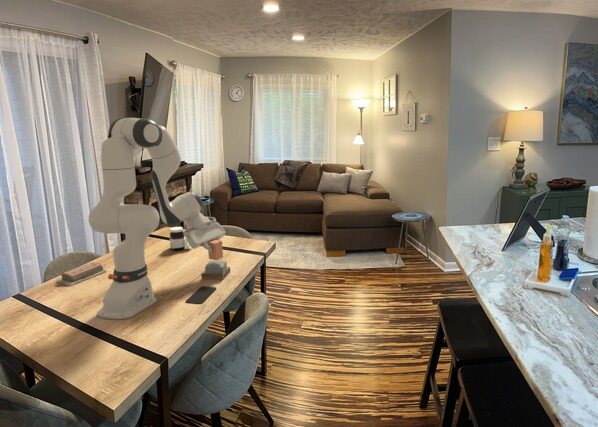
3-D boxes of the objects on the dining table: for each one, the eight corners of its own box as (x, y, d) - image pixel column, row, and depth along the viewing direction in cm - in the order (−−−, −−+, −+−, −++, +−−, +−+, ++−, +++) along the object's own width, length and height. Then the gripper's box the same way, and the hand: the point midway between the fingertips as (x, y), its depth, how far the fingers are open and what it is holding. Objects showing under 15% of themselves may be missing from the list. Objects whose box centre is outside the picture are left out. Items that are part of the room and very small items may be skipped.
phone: (184, 301, 157) (201, 286, 172) (184, 303, 158) (201, 287, 172) (201, 303, 156) (217, 287, 170) (201, 305, 156) (217, 289, 170)
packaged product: (91, 260, 194) (105, 263, 190) (93, 269, 195) (106, 273, 191) (54, 273, 179) (68, 276, 174) (56, 283, 180) (70, 287, 175)
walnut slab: (222, 281, 179) (222, 274, 178) (201, 280, 181) (201, 273, 180) (230, 272, 189) (230, 266, 188) (210, 271, 190) (209, 265, 190)
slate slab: (223, 273, 180) (222, 267, 179) (205, 273, 180) (205, 267, 179) (226, 267, 188) (226, 261, 187) (209, 267, 188) (209, 261, 187)
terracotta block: (216, 260, 180) (215, 243, 178) (208, 258, 182) (207, 242, 180) (223, 257, 184) (222, 240, 182) (215, 255, 186) (214, 239, 184)
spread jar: (169, 247, 226) (167, 227, 223) (190, 244, 231) (188, 224, 228) (172, 253, 216) (170, 232, 213) (194, 250, 220) (192, 229, 217)
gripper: (185, 227, 174) (203, 252, 171) (216, 216, 191) (234, 239, 188) (178, 235, 177) (196, 260, 175) (210, 224, 194) (227, 246, 192)
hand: (216, 249), depth 182 cm, fingers closed on terracotta block, 4 cm apart
